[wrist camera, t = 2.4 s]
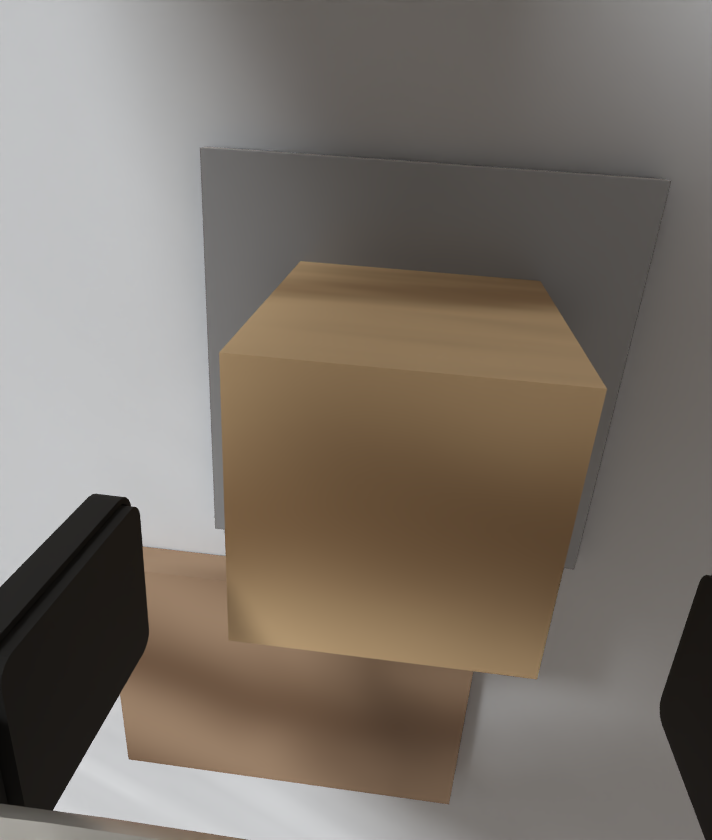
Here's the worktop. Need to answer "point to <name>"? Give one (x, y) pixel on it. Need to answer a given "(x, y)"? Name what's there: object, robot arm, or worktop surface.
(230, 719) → the walnut board
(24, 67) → the worktop surface
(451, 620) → the oak block
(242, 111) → the worktop surface
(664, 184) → the pad
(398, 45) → the worktop surface
